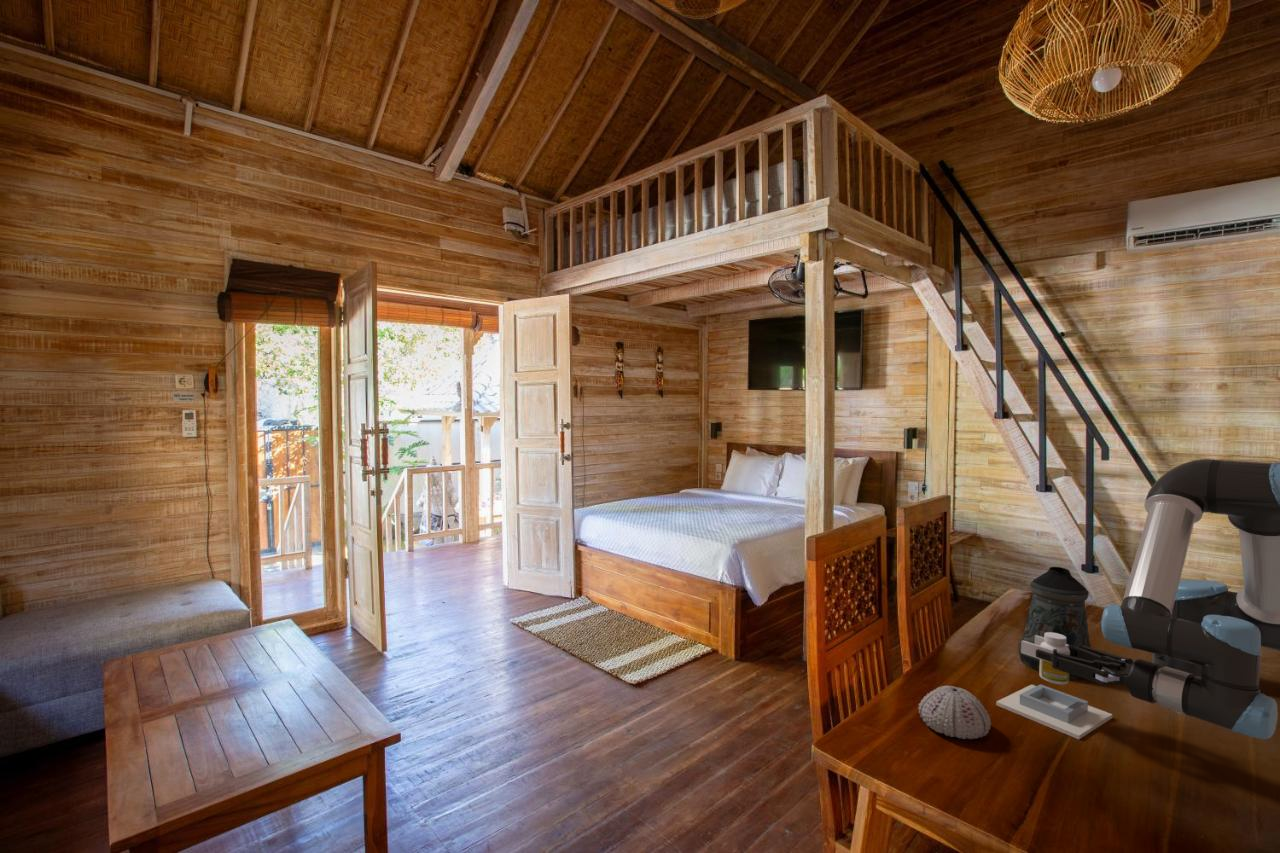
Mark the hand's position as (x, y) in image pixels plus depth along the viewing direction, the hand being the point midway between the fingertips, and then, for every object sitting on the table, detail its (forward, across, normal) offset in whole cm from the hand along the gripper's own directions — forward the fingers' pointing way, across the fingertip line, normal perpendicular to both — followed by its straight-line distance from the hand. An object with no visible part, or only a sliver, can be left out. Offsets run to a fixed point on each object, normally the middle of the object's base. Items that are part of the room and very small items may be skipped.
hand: (1029, 644), depth 134 cm
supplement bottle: (-5, 0, -6) cm, 8 cm away
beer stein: (+7, +28, -13) cm, 32 cm away
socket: (-5, 0, -13) cm, 14 cm away
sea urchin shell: (+3, -25, -14) cm, 28 cm away
